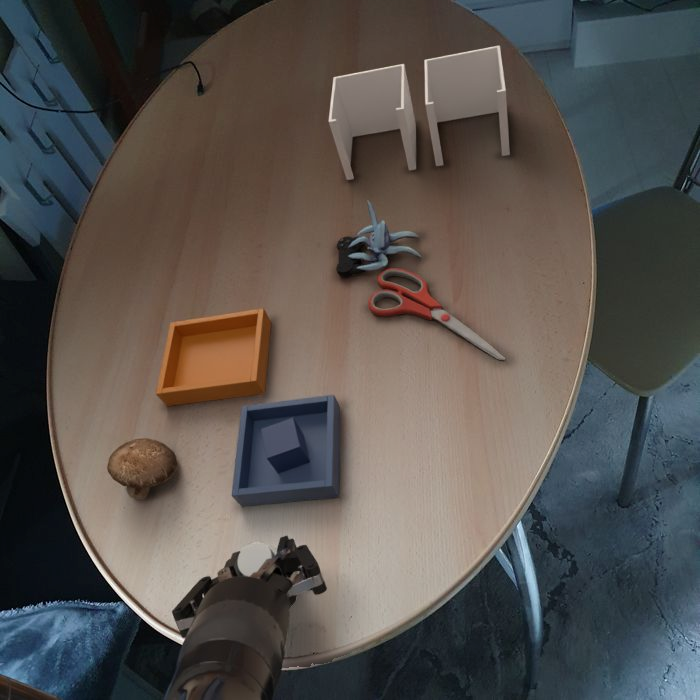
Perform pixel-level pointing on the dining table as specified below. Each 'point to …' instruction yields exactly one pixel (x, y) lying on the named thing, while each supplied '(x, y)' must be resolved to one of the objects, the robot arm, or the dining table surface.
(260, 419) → the blue tray
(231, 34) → the dining table surface
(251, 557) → the pill bottle
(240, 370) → the amber tray
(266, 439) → the blue block
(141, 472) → the mushroom
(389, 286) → the scissors
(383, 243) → the figurine
